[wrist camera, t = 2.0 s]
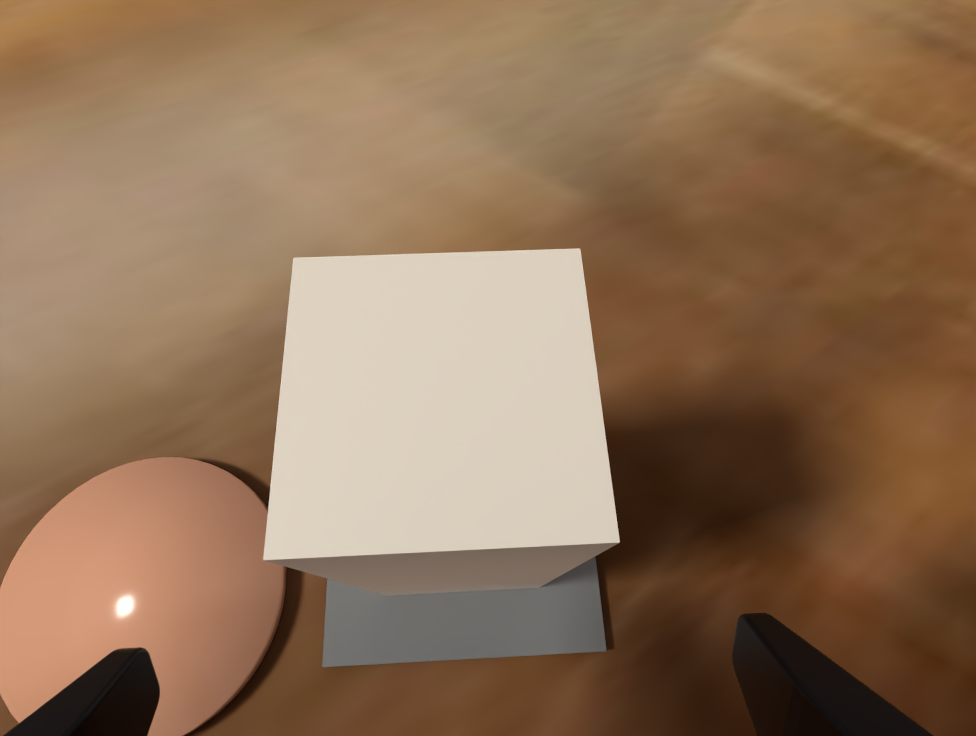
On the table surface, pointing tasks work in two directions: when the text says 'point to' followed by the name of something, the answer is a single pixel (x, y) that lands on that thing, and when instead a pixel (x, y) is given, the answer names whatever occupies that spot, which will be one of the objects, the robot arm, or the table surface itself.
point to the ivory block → (439, 423)
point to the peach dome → (144, 589)
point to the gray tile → (464, 622)
